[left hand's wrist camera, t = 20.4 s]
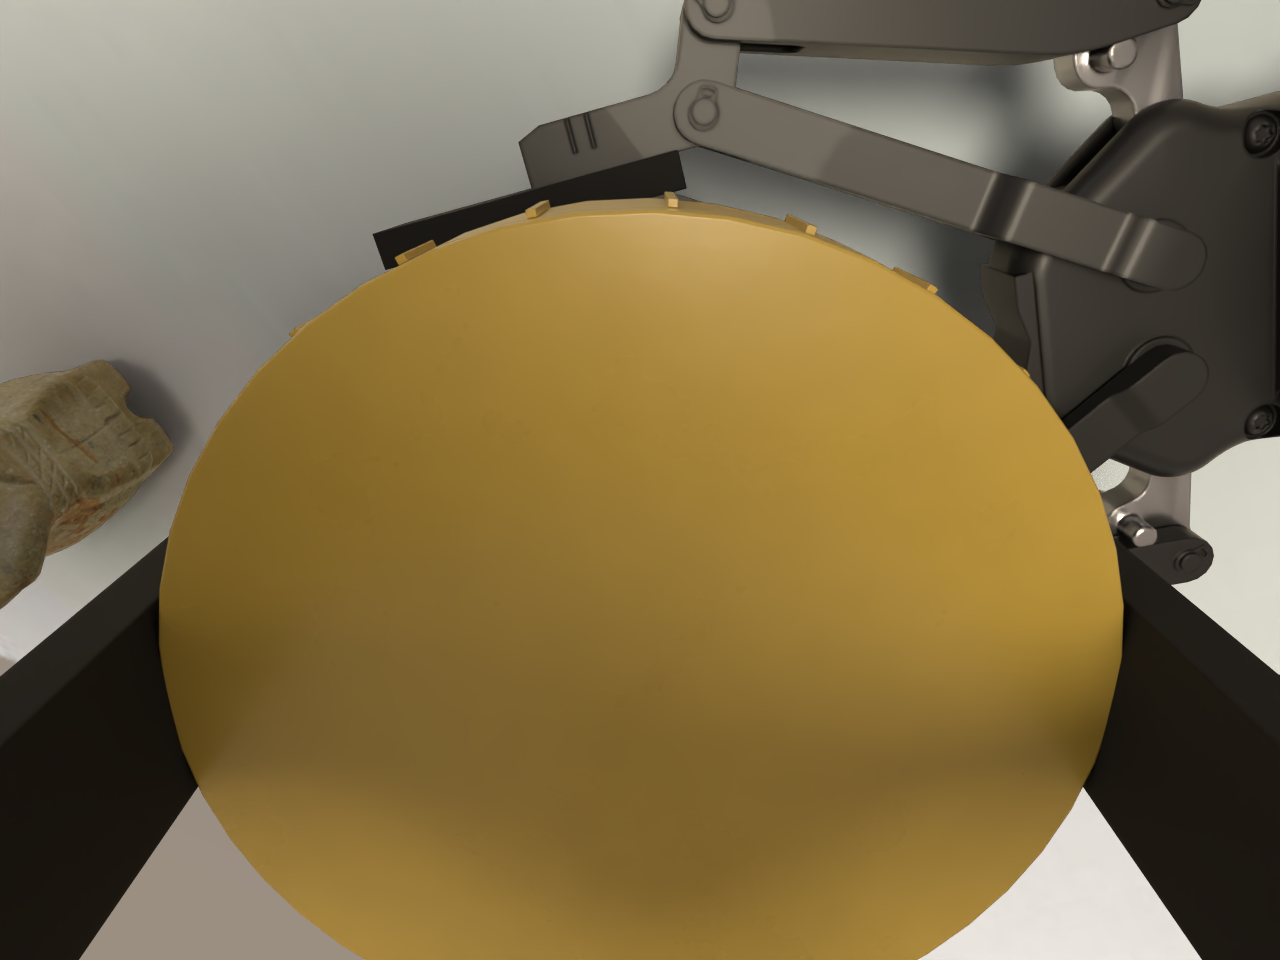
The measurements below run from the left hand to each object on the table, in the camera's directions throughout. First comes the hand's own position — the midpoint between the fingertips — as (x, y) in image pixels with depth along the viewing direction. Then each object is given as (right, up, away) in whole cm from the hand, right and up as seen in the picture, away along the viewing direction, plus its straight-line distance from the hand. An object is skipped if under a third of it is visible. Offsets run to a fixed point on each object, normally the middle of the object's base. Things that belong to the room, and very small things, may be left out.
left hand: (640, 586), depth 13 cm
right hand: (-4, +2, +8) cm, 9 cm away
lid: (0, -1, -2) cm, 3 cm away
